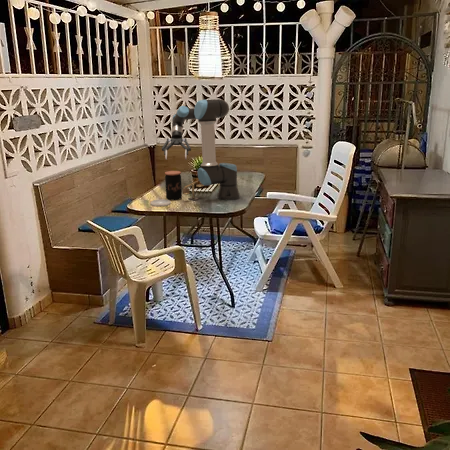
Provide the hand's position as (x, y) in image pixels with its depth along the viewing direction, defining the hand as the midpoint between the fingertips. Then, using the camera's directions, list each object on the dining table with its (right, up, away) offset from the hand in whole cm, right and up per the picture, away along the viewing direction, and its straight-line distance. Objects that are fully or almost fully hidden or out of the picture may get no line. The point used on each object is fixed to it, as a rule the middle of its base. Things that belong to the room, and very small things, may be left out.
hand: (175, 158), depth 329 cm
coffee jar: (-1, -28, -6) cm, 29 cm away
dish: (-8, -32, -19) cm, 38 cm away
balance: (+13, -29, -10) cm, 33 cm away
